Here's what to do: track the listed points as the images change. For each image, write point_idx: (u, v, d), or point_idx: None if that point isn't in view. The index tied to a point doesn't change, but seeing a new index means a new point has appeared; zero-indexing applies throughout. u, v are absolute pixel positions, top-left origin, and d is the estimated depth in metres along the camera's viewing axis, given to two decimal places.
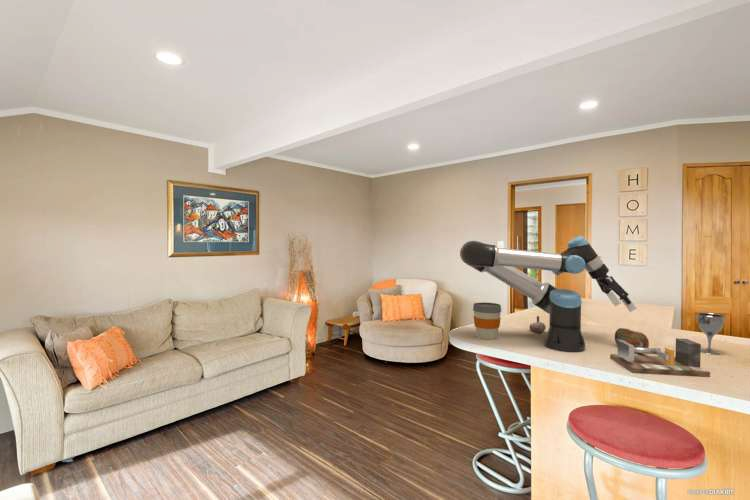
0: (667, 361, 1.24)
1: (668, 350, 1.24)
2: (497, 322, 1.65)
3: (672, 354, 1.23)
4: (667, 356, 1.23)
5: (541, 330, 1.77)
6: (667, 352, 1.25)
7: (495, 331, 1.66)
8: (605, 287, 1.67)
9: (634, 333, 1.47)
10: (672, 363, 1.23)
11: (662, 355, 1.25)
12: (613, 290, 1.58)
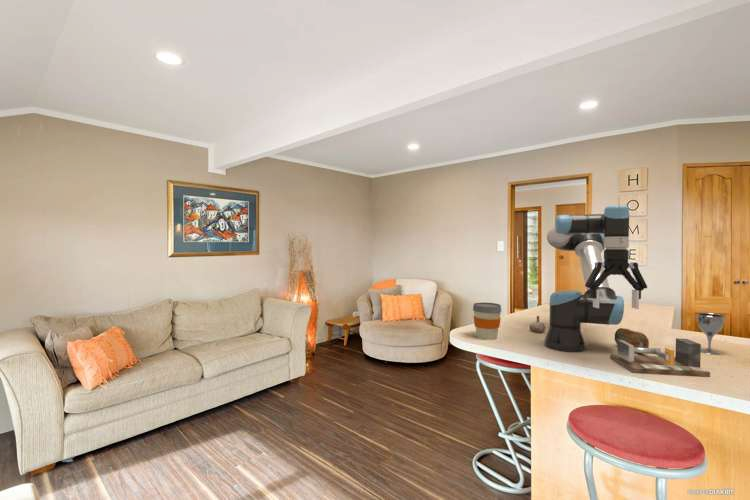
0: (667, 361, 1.24)
1: (668, 350, 1.24)
2: (497, 322, 1.65)
3: (672, 354, 1.23)
4: (667, 356, 1.23)
5: (541, 330, 1.77)
6: (667, 352, 1.25)
7: (495, 331, 1.66)
8: (627, 279, 1.33)
9: (634, 333, 1.47)
10: (672, 363, 1.23)
11: (662, 355, 1.25)
12: None
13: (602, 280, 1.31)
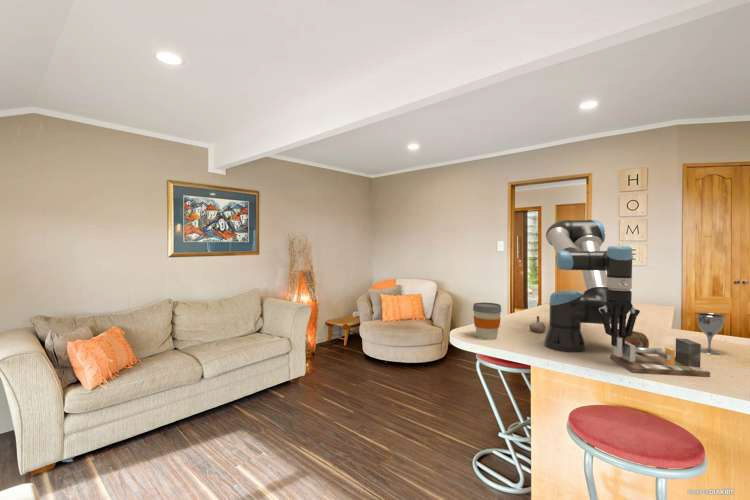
0: (667, 361, 1.24)
1: (668, 350, 1.24)
2: (497, 322, 1.65)
3: (672, 354, 1.23)
4: (668, 356, 1.23)
5: (541, 330, 1.77)
6: (667, 352, 1.24)
7: (495, 331, 1.66)
8: (619, 322, 1.32)
9: (634, 333, 1.47)
10: (672, 363, 1.23)
11: (663, 355, 1.25)
12: None
13: (616, 325, 1.31)
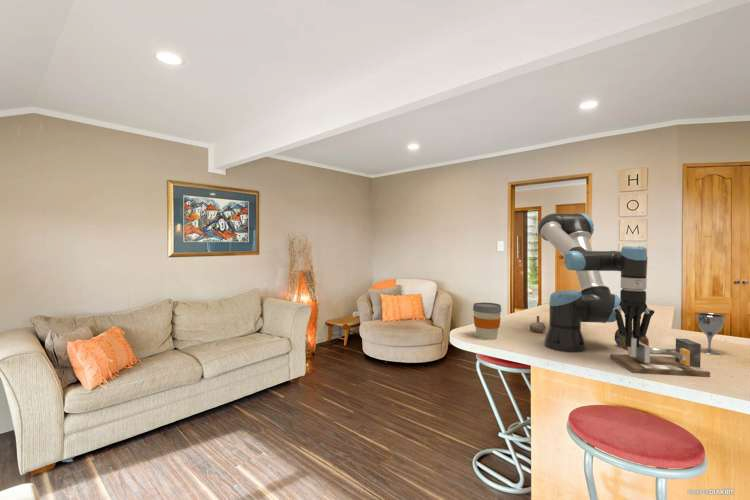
0: (682, 362, 1.24)
1: (683, 351, 1.23)
2: (497, 322, 1.65)
3: (688, 355, 1.22)
4: (684, 357, 1.22)
5: (541, 330, 1.77)
6: (682, 353, 1.24)
7: (495, 331, 1.66)
8: (633, 322, 1.31)
9: None
10: (688, 364, 1.22)
11: (678, 356, 1.24)
12: None
13: (630, 326, 1.30)
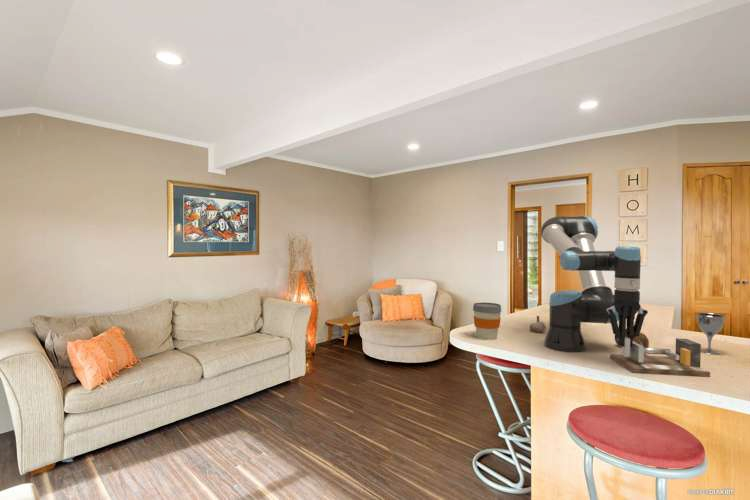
0: (683, 362, 1.24)
1: (684, 351, 1.23)
2: (497, 322, 1.65)
3: (688, 355, 1.22)
4: (677, 356, 1.23)
5: (541, 330, 1.77)
6: (683, 353, 1.24)
7: (495, 331, 1.66)
8: (627, 322, 1.32)
9: None
10: (688, 364, 1.22)
11: (672, 355, 1.25)
12: None
13: (624, 326, 1.30)
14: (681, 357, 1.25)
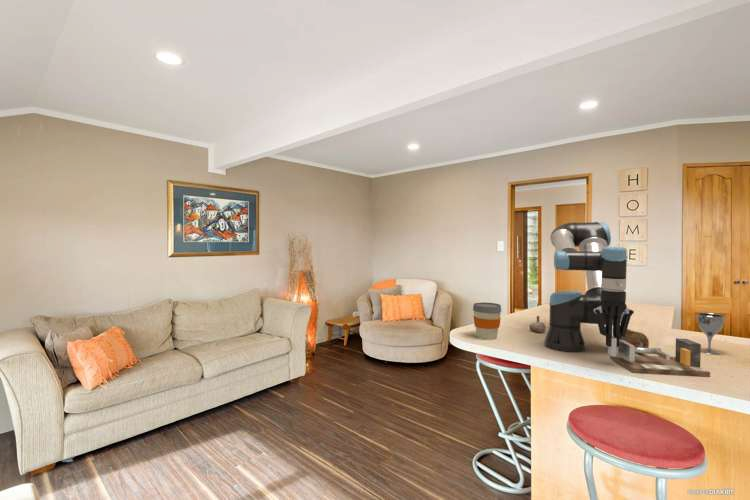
0: (683, 362, 1.24)
1: (684, 351, 1.23)
2: (497, 322, 1.65)
3: (688, 355, 1.22)
4: (668, 356, 1.23)
5: (541, 330, 1.77)
6: (683, 353, 1.24)
7: (495, 331, 1.66)
8: (613, 322, 1.33)
9: (634, 333, 1.47)
10: (688, 364, 1.22)
11: (663, 355, 1.25)
12: None
13: (610, 326, 1.31)
14: (681, 357, 1.25)
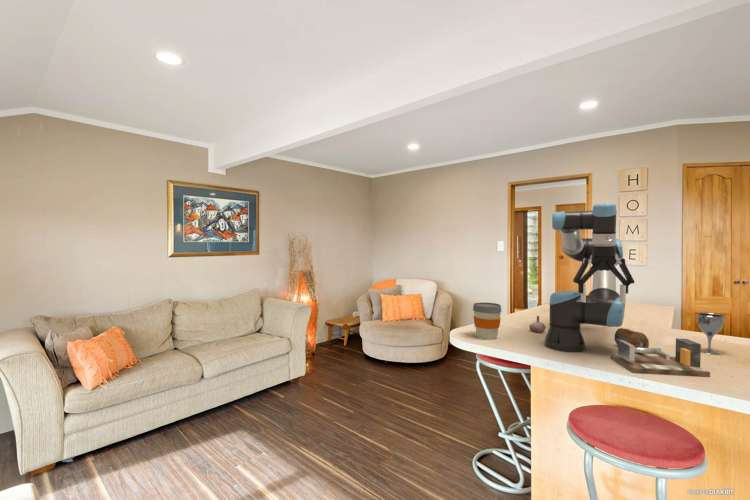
0: (683, 362, 1.24)
1: (684, 351, 1.23)
2: (497, 322, 1.65)
3: (688, 355, 1.22)
4: (668, 356, 1.23)
5: (541, 330, 1.77)
6: (683, 353, 1.24)
7: (495, 331, 1.66)
8: (615, 274, 1.38)
9: (634, 333, 1.47)
10: (688, 364, 1.22)
11: (663, 355, 1.25)
12: None
13: (589, 276, 1.37)
14: (681, 357, 1.25)
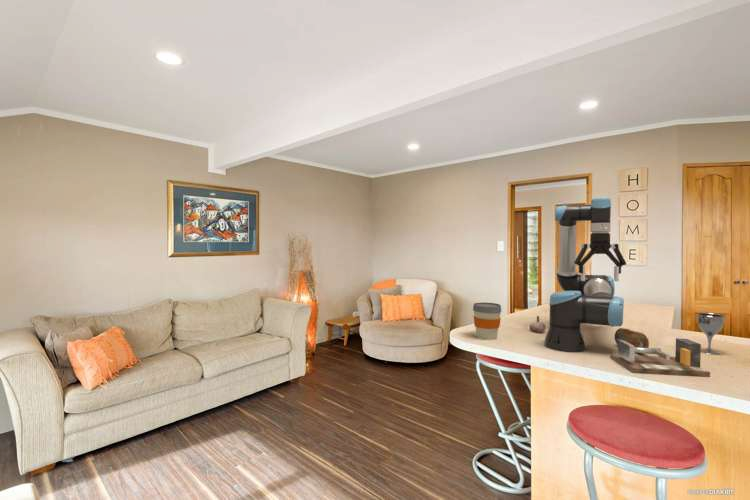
0: (683, 362, 1.24)
1: (684, 351, 1.23)
2: (497, 322, 1.65)
3: (688, 355, 1.22)
4: (668, 356, 1.23)
5: (541, 330, 1.77)
6: (683, 353, 1.24)
7: (495, 331, 1.66)
8: (609, 257, 1.63)
9: (634, 333, 1.47)
10: (688, 364, 1.22)
11: (663, 355, 1.25)
12: None
13: (587, 258, 1.62)
14: (681, 357, 1.25)
